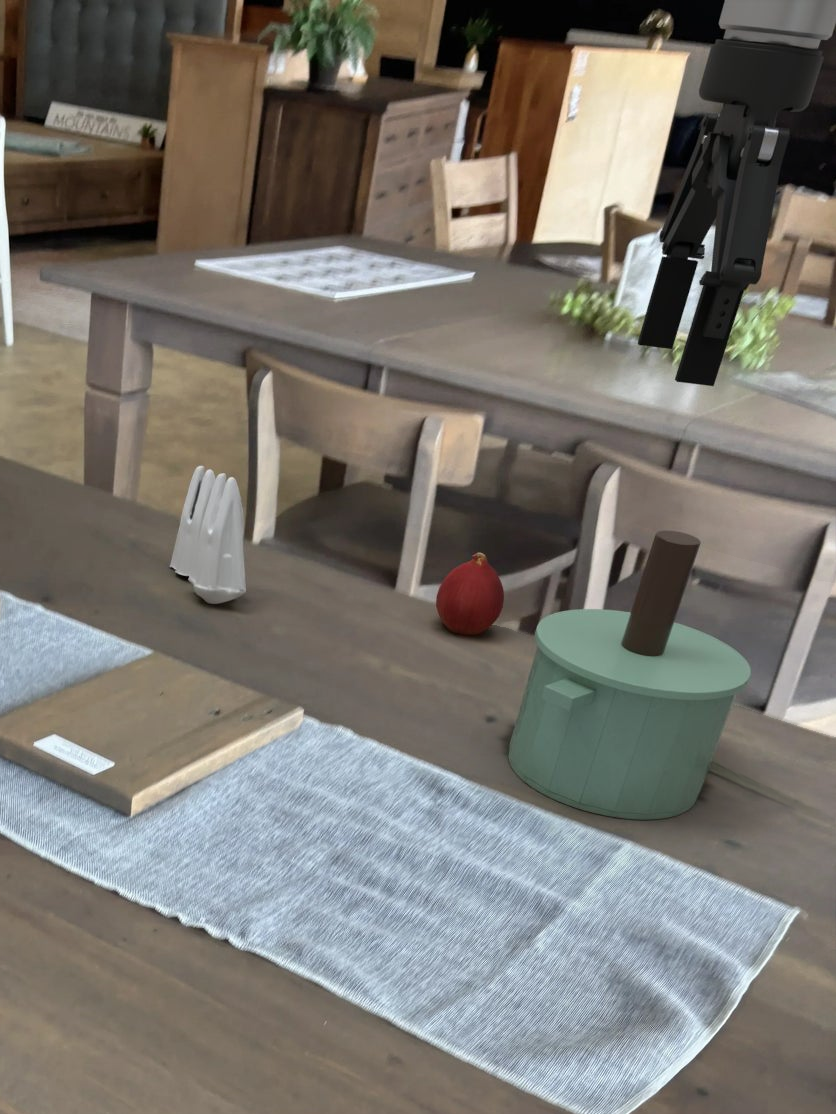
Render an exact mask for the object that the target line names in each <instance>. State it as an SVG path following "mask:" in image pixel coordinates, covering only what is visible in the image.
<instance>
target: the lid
mask: <svg viewBox="0 0 836 1114" xmlns="http://www.w3.org/2000/svg"><path fill="white" fill-rule="evenodd" d="M701 543H702V542H701V540H700V539H699V538H698V537H696V536H694V535H691V534H690V533H685V532H680V531H677V530H659V531H656V533H655V536H654V539H653V541H652V544H651V548H650V551H649V554H648V557H647V560H646V563H645V567H644V569H643V573H642V575H641V579H640V582H639V586H638V589H637V591H636V594H635V595H636V596H635V598H634V601H633V605H632V608H631V611H623V610H616V609H603V608H577V609H569V610H563V611H558V612H554V613H551V614H548V615H547V616H545V617H543V618H542V619H541V620H539V622H538V624H537V626H536V629H535V632H534V641H535V644H536V646H537V645H538V647H539V649H540V650H541V651H542V652H543V653H544V654H545V655H546V656H547V657H549V658H550V659H551V660H552V661H554V662H555V663H557V664H558V665H560V666H562V667H564V668H565V669H567V670H569V671H571V672H573V673H575V674H578V675H580V676H582V677H584V678H587V679H589V680H592V681H595V682H598V683H600V684H603V685H606V686H610V687H613V688H616V689H620V690H624V691H628V692H632V693H637V694H642V695H647V696H653V697H659V698H667V699H677V700H710V699H719V698H724V697H728V696H731V695H734V694H736V693H737V694H739V693H741V692H742V691H743V690H744V689H745V688H746V687H747V686H748V684H749V681H750V679H751V675H752V670H751V666H750V664H749V663H748V661H747V660H746V659H745V657H744V656H743V655H742V654H740V653H739V652H738V651H737V650H736V649H734V648H733V647H731V646H730V645H729V644H727V643H725V642H723V641H722V640H720V639H718V638H716V637H714V636H712V635H710V634H708V633H705V632H703V631H701V630H698V629H695V628H693V627H690V626H687V625H684V624H682V623H679V622H675V621H676V618H677V616H678V612H679V610H680V606H681V603H682V601H683V597H684V594H685V592H686V588H687V585H688V581H689V579H690V576H691V574H692V570H693V567H694V565H695V562H696V559H697V555H698V552H699V549H700V547H701V545H702V544H701ZM737 694H736V695H737Z"/></svg>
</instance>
